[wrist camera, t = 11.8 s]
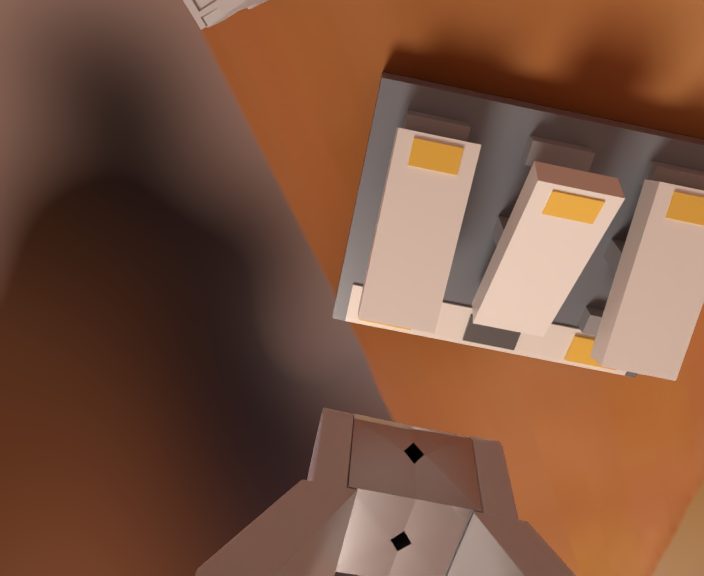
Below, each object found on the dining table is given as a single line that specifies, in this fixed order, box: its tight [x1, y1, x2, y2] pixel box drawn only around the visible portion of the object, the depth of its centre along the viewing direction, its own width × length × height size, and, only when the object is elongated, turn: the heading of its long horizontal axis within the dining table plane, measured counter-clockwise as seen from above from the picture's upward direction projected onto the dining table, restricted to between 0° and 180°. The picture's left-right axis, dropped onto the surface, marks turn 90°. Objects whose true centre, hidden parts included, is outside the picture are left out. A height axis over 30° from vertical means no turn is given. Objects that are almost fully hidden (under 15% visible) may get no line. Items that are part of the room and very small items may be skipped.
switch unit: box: [333, 72, 704, 377], centre depth 43 cm, size 18×24×5 cm
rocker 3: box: [590, 179, 704, 381], centre depth 39 cm, size 12×5×2 cm, turn 169°
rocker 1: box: [358, 128, 481, 333], centre depth 39 cm, size 12×5×2 cm, turn 169°
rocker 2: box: [472, 161, 625, 337], centre depth 39 cm, size 12×5×2 cm, turn 169°
